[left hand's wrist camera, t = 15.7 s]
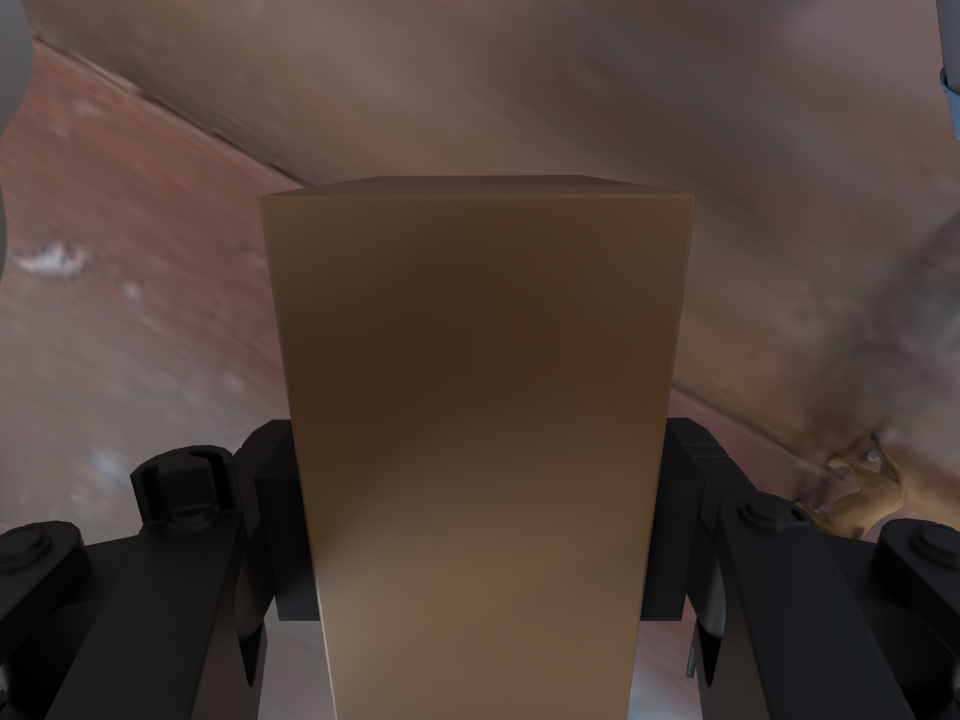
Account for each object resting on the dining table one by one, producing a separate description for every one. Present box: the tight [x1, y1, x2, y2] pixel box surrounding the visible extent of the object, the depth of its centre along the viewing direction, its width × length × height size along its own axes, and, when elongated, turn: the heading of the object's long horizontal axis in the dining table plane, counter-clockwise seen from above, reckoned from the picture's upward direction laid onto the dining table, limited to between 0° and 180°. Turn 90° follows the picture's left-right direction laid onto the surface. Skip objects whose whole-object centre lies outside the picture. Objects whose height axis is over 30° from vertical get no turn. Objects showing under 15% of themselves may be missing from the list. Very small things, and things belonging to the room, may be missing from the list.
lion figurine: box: [794, 431, 908, 541], centre depth 52 cm, size 15×5×9 cm, turn 160°
